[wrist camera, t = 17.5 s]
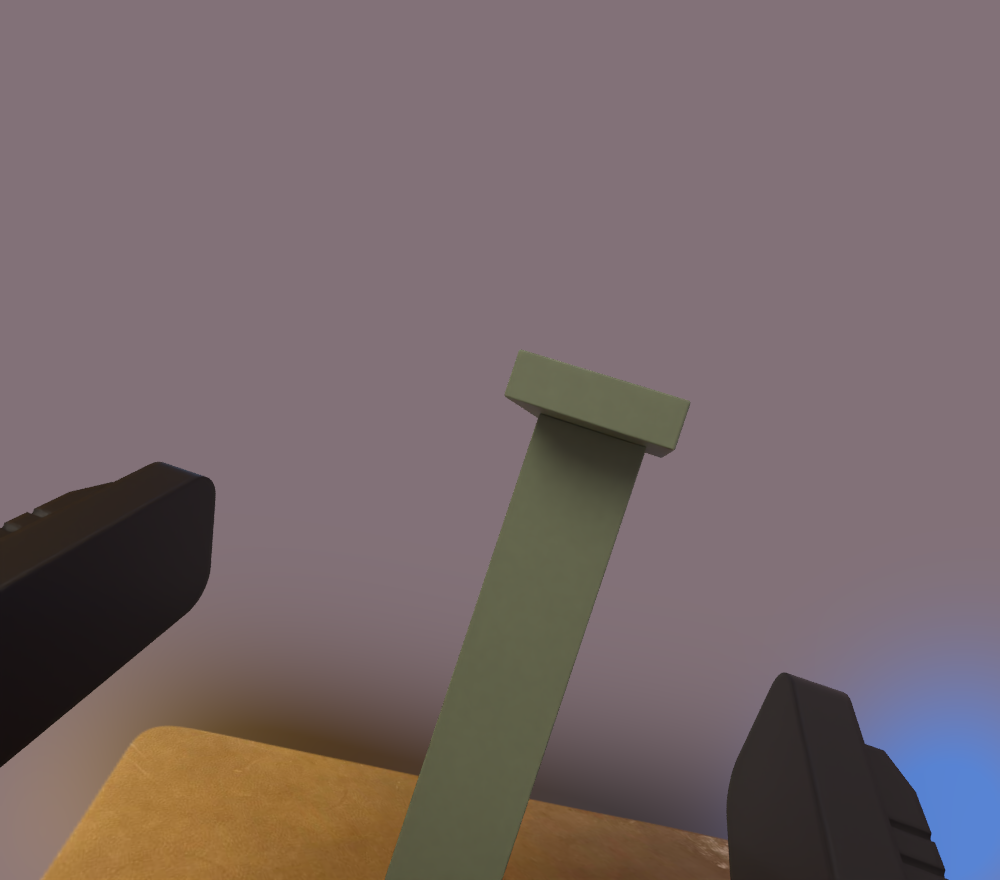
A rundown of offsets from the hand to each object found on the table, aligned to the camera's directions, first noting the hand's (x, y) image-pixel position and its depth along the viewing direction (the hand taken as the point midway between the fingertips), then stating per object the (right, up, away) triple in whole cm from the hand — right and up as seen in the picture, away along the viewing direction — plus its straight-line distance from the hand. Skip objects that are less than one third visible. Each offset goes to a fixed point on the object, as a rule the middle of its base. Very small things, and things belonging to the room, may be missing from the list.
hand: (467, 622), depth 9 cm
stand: (-4, -25, +23) cm, 34 cm away
